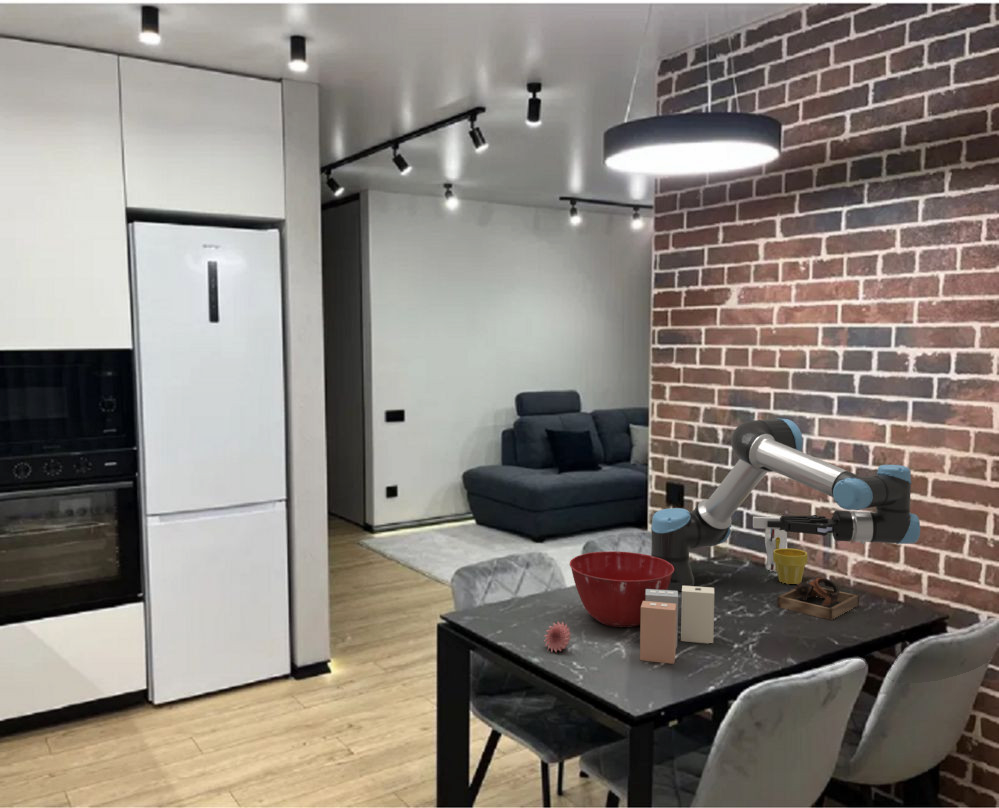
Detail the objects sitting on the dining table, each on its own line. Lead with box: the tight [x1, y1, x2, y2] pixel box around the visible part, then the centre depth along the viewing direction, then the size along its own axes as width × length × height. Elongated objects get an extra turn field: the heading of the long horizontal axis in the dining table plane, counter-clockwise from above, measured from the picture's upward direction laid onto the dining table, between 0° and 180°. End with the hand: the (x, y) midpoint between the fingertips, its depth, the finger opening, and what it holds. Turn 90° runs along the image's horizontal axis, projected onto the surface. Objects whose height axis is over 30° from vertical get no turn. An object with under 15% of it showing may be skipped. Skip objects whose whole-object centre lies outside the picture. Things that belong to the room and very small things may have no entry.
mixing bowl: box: [569, 550, 674, 628], centre depth 222 cm, size 28×28×16 cm
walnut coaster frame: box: [776, 586, 860, 621], centre depth 234 cm, size 16×18×3 cm
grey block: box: [645, 589, 679, 649], centre depth 204 cm, size 8×5×13 cm, turn 79°
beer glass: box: [764, 529, 788, 573], centre depth 271 cm, size 7×7×15 cm
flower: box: [543, 621, 572, 653], centre depth 200 cm, size 8×8×6 cm
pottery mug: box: [795, 577, 840, 607], centre depth 237 cm, size 12×10×8 cm
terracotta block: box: [639, 601, 677, 665], centre depth 195 cm, size 8×5×13 cm, turn 74°
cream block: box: [680, 585, 715, 644], centre depth 207 cm, size 8×5×13 cm, turn 76°
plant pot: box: [773, 547, 808, 585], centre depth 257 cm, size 10×10×10 cm
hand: (753, 522), depth 207 cm, fingers closed
